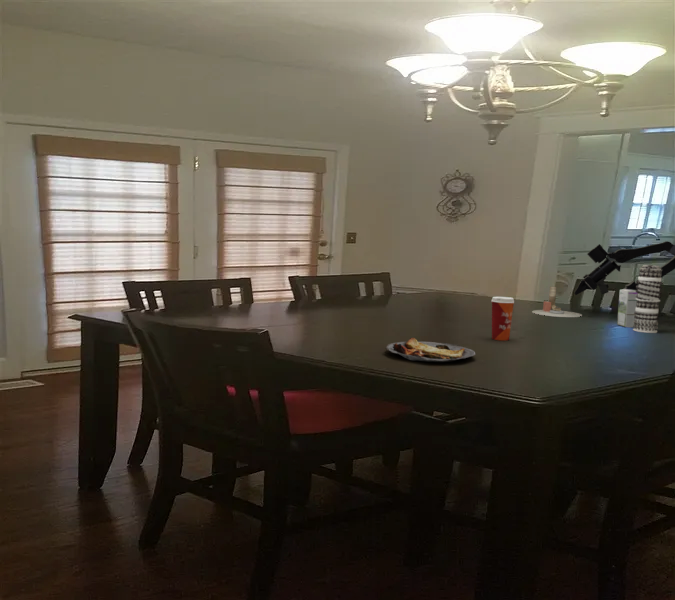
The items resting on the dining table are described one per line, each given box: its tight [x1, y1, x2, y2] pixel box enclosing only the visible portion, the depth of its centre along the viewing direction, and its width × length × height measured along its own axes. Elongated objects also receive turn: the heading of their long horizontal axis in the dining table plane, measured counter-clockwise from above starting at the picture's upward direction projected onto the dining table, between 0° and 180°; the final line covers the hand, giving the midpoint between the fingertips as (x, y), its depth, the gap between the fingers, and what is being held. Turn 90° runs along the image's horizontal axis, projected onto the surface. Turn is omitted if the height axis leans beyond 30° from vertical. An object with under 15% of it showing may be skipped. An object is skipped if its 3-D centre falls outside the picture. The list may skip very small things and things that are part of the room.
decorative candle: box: [632, 264, 664, 334], centre depth 248 cm, size 9×9×25 cm
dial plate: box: [531, 309, 583, 318], centre depth 290 cm, size 21×21×1 cm
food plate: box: [385, 337, 476, 363], centre depth 188 cm, size 25×23×4 cm
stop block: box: [542, 300, 552, 311], centre depth 296 cm, size 3×2×4 cm
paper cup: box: [490, 296, 515, 342], centre depth 219 cm, size 8×8×14 cm
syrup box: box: [616, 288, 638, 328], centre depth 259 cm, size 6×6×14 cm
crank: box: [548, 286, 562, 311], centre depth 294 cm, size 12×3×9 cm, turn 175°
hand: (574, 294), depth 296 cm, fingers closed
